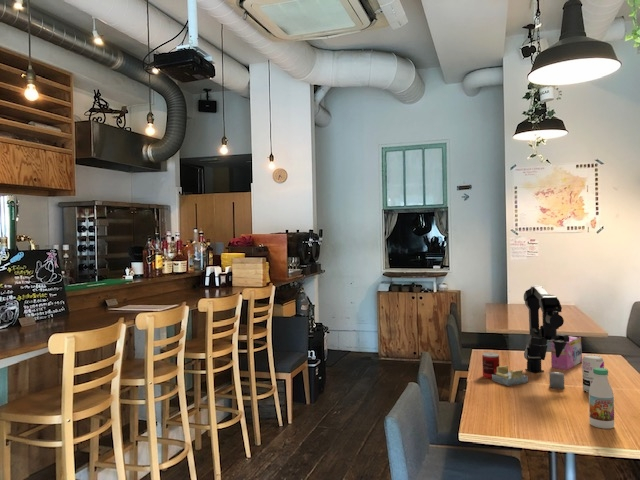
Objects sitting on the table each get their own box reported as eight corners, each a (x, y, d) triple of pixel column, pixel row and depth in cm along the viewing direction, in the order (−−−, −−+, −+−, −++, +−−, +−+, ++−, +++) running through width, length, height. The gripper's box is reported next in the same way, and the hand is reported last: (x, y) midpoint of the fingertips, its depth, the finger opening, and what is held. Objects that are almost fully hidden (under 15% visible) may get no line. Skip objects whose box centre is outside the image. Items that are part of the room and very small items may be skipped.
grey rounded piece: (556, 384, 227) (556, 370, 227) (567, 387, 221) (567, 373, 222) (546, 386, 225) (546, 372, 225) (557, 389, 219) (557, 375, 219)
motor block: (514, 376, 241) (514, 364, 241) (530, 381, 232) (530, 369, 232) (492, 380, 235) (491, 367, 235) (507, 385, 226) (507, 372, 226)
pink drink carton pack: (567, 359, 273) (567, 334, 273) (583, 361, 268) (582, 336, 268) (551, 367, 256) (550, 341, 256) (567, 370, 251) (566, 343, 251)
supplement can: (606, 391, 215) (605, 356, 216) (601, 395, 209) (600, 360, 209) (586, 387, 221) (585, 353, 221) (580, 392, 215) (579, 357, 215)
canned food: (497, 374, 245) (496, 352, 245) (501, 379, 237) (500, 356, 237) (481, 374, 246) (480, 352, 246) (484, 379, 238) (484, 356, 238)
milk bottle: (584, 422, 180) (583, 366, 180) (605, 420, 181) (603, 365, 181) (598, 430, 173) (597, 372, 173) (619, 428, 173) (618, 371, 173)
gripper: (548, 319, 236) (549, 353, 235) (520, 323, 228) (520, 357, 227) (569, 323, 226) (570, 357, 225) (540, 326, 217) (541, 362, 217)
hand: (550, 358), depth 224 cm, fingers open, 9 cm apart
